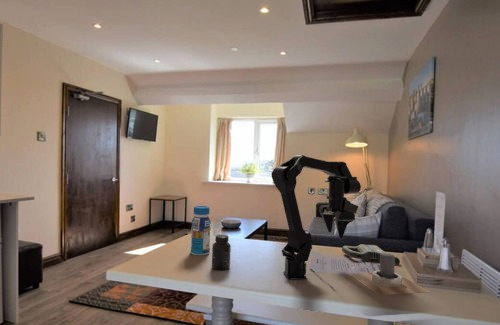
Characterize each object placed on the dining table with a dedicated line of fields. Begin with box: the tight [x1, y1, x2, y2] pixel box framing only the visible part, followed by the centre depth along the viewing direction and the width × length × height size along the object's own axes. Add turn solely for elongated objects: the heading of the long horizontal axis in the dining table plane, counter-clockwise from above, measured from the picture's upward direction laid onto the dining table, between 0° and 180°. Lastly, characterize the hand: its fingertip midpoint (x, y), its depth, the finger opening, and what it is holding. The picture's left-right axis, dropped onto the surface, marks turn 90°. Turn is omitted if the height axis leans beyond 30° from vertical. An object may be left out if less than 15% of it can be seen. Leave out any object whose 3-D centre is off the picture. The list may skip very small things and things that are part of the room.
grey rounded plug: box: [379, 252, 396, 279], centre depth 103 cm, size 4×4×9 cm
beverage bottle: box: [190, 205, 212, 256], centre depth 134 cm, size 8×8×20 cm
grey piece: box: [341, 244, 401, 266], centre depth 132 cm, size 16×20×5 cm
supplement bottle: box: [211, 234, 232, 272], centre depth 116 cm, size 7×7×12 cm
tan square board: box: [348, 272, 431, 296], centre depth 103 cm, size 18×18×1 cm
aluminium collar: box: [371, 269, 403, 288], centre depth 103 cm, size 9×9×2 cm
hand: (335, 234), depth 119 cm, fingers open, 9 cm apart
